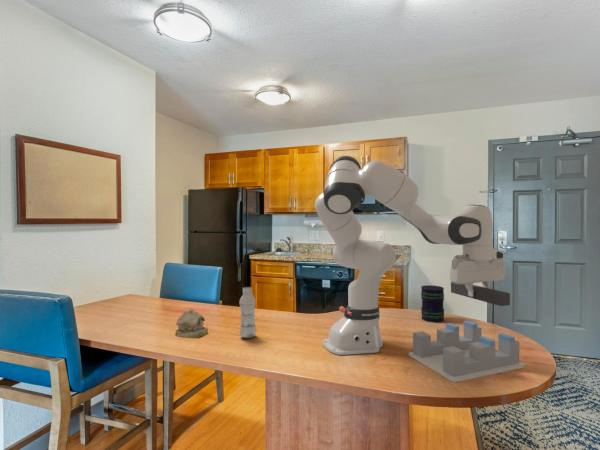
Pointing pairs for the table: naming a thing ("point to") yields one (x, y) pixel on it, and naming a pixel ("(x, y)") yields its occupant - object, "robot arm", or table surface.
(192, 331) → the ceramic model
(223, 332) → the table surface
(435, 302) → the black ribbed barrel
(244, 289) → the plastic bottle
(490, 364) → the grey slotted fixture rack
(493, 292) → the dark square rod
